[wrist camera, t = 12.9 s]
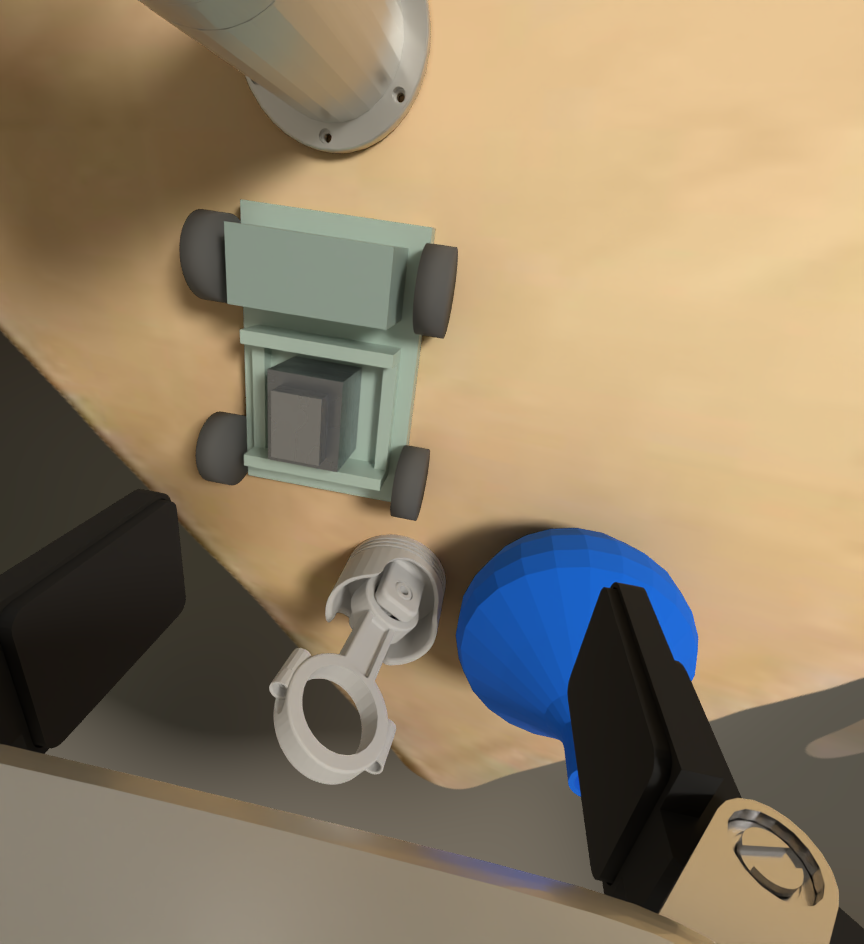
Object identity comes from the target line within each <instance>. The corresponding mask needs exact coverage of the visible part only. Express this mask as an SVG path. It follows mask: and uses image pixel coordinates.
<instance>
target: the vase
mask: <svg viewBox="0 0 864 944" xmlns="http://www.w3.org/2000/svg"><path fill="white" fill-rule="evenodd" d="M614 582H618V583H624V584H629V585H634V586H639V587H643V588H644V589H645V590H646V592H647V595H648V597H649V600H650V602H651V604H652V607H653V609H654V612H655V614H656V616H657V619H658V621H659V624H660V626H661V629H662V631H663V633H664V636H665V638H666V641H667V643H668V645H669V648H670V650H671V653H672V655H673V657H674V660H676V661H679V662H680V663H681V664H683V666H684V668H685V669H686V671H687V673H688V675H689V678H690V680H691V681H692V679H693V677H694V675H695V668H696V660H697V652H698V634H697V630H696V626H695V622H694V618H693V614H692V611H691V609H690V608H689V606H688V604H687V602H686V601H685V599H684V597H683V595H682V593H681V592H680V590H679V589H678V587H677V586H676V584H675V583H674V581H673V580H672V578H671V577H670V576H669V574H668V573H667V571H665V570H664V569H663V568H662V567H660V566H659V565H658V564H657V563H656V562H654V561H653V560H652V559H651V558H649V557H648V556H647V555H646V554H644V553H643V552H641V551H639V550H637V549H635V548H633V547H631V546H630V545H628V544H626V543H624V542H622V541H619V540H617V539H615V538H613V537H610V536H608V535H606V534H604V533H601V532H595V531H590V530H585V529H580V528H560V529H548V530H544V531H540V532H536V533H533V534H529V535H526V536H524V537H522V538H520V539H518V540H516V541H514V542H512V543H511V544H509V545H507V546H505V547H504V548H503V549H502V550H501V551H500V552H499V553H497V554H496V555H495V556H494V557H493V558H492V559H491V560H490V561H489V562H488V563H487V564H486V565H485V566H484V567H483V568H482V569H481V570H480V571H479V572H478V573H477V574H476V575H475V577H474V579H473V580H472V582H471V584H470V585H469V587H468V589H467V591H466V592H465V594H464V596H463V600H462V605H461V610H460V614H459V619H458V625H457V631H456V641H457V648H458V656H459V660H460V663H461V666H462V668H463V671H464V673H465V675H466V677H467V679H468V682H469V684H470V686H471V688H472V690H473V692H474V693H475V694H476V695H477V696H478V697H479V698H480V700H481V701H482V702H483V703H484V704H485V705H486V706H487V707H488V709H490V710H491V711H493V712H494V713H495V714H497V715H498V716H500V717H501V718H503V719H504V720H505V721H507V722H508V723H510V724H512V725H515V726H517V727H519V728H522V729H524V730H526V731H529V732H531V733H533V734H537V735H542V736H546V737H551V738H555V739H558V740H560V741H561V742H562V743H563V745H564V750H565V758H566V766H567V775H568V784H569V786H570V789H571V790H572V791H573V792H574V793H575V794H577V795H578V796H580V797H581V792H580V785H579V778H578V771H577V763H576V756H575V749H574V741H573V734H572V727H571V719H570V712H569V705H568V696H567V690H568V682H569V678H570V675H571V673H572V670H573V667H574V664H575V661H576V659H577V656H578V653H579V650H580V647H581V644H582V642H583V639H584V636H585V633H586V630H587V628H588V625H589V622H590V619H591V616H592V614H593V611H594V608H595V605H596V602H597V599H598V597H599V594H600V591H601V589H602V588H603V587H607V588H610V587H611V585H612V584H613V583H614Z"/></svg>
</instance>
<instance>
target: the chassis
mask: <svg viewBox="0 0 864 944" xmlns="http://www.w3.org/2000/svg"><path fill="white" fill-rule="evenodd" d="M240 211H241V221H240V220H239V219H238V218H237V217H236V216H235V215H233V214H230V213H224V212H217V211H211V210H204V209H198V210H195V211H193V212H192V213H191V214H190V215H189V216H188V217H187V219H186V221H185V223H184V225H183V228H182V232H181V237H180V262H181V267H182V271H183V275H184V277H185V280H186V282H187V284H188V286H189V288H190V289H191V291H192V292H193V293H194V294H195V295H196V296H198V297H199V298H201V299H205V300H211V301H217V302H223V303H227V304H231V305H237V306H243V315H244V328H243V329H240V343H241V344H244V349H245V384H246V416H242V415H237V414H231V413H226V412H216V413H214V414H212V415H211V416H210V417H209V418H208V419H207V421H206V422H205V423H204V425H203V427H202V429H201V431H200V434H199V437H198V441H197V446H196V464H197V468H198V471H199V473H200V475H201V476H202V478H203V479H205V480H207V481H212V482H217V483H222V484H227V485H236V484H238V483H239V482H240V481H241V480H242V479H243V478H244V477H245V475H246V474H247V472H248V475H251V476H256V477H262V478H267V479H272V480H277V481H283V482H288V483H293V484H298V485H304V486H309V487H314V488H319V489H325V490H330V491H335V492H340V493H346V494H351V495H356V496H361V497H367V498H372V499H377V500H382V501H388V502H391V506H390V511H391V516H393V517H399V518H404V519H409V520H414V521H416V520H417V518H418V515H419V512H420V508H421V504H422V500H423V496H424V491H425V486H426V480H427V474H428V467H429V458H430V450H429V449H424V448H419V447H413V446H409V438H410V430H411V422H412V414H413V406H414V398H415V389H416V381H417V373H418V365H419V357H420V349H421V341H422V335H424V336H431V337H437V338H444V337H445V334H446V331H447V327H448V323H449V318H450V313H451V308H452V302H453V296H454V289H455V282H456V273H457V262H458V249H457V247H451V246H444V245H437V244H434V236H435V228H431V227H424V226H418V225H411V224H404V223H397V222H390V221H384V220H377V219H370V218H363V217H357V216H350V215H343V214H336V213H329V212H323V211H316V210H309V209H302V208H295V207H289V206H282V205H275V204H268V203H262V202H255V201H248V200H241V199H240ZM294 356H299V357H305V358H310V359H316V360H322V361H328V362H333V363H339V364H345V365H351V366H356V367H362V378H361V391H360V404H359V417H358V430H357V443H356V449H355V451H354V452H353V453H352V454H351V456H350V457H349V458H348V459H347V461H346V462H345V463H344V465H343V466H342V467H341V468H340V470H339V471H338V472H333V471H328V470H322V469H317V468H312V467H307V466H301V465H296V464H291V463H285V462H280V461H275V460H270V459H268V380H267V369H269V368H271V367H273V366H275V365H277V364H279V363H282V362H284V361H286V360H288V359H290V358H292V357H294Z"/></svg>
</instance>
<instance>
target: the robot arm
mask: <svg viewBox="0 0 864 944" xmlns="http://www.w3.org/2000/svg"><path fill="white" fill-rule="evenodd" d="M138 1H140V2H141V3H143V4H144V5H146V6H147V7H148V8H149V9H151V10H152V11H153V12H155V13H156V14H158V15H159V16H161V17H162V18H164V19H165V20H166V21H168V22H169V23H171V24H172V25H174V26H175V27H177V28H178V29H179V30H181V31H182V32H184V33H185V34H187V35H188V36H190V37H191V38H192V39H194V40H195V41H197V42H198V43H200V44H201V45H203V46H204V47H205V48H207V49H208V50H210V51H211V52H213V53H214V54H216V55H217V56H218V57H220V58H221V59H223V60H224V61H226V62H227V63H229V64H230V65H231V66H233V67H234V68H236V69H237V70H239V71H240V72H242V73H243V74H244V75H245V77H246V80H247V82H248V85H249V87H250V89H251V91H252V93H253V95H254V96H255V98H256V100H257V101H258V103H259V105H260V107H261V108H262V109H263V110H264V112H265V113H266V114H267V115H268V117H269V118H270V119H271V120H272V121H273V123H274V124H276V125H277V126H278V127H279V128H280V129H281V130H283V131H284V132H285V133H286V134H287V135H288V136H290V137H292V138H293V139H295V140H297V141H298V142H300V143H302V144H304V145H306V146H309V147H311V148H313V149H315V150H319V151H324V152H329V153H351V152H355V151H358V150H362V149H365V148H368V147H370V146H371V145H373V144H375V143H377V142H379V141H381V140H382V139H384V138H385V137H386V136H387V135H388V134H389V133H391V132H392V131H393V130H394V129H395V128H396V127H397V126H398V125H399V124H400V122H401V121H402V120H403V118H404V117H405V116H406V115H407V113H408V112H409V110H410V108H411V107H412V105H413V103H414V101H415V99H416V97H417V96H418V94H419V91H420V88H421V85H422V82H423V79H424V76H425V73H426V69H427V64H428V58H429V52H430V38H431V21H430V12H429V3H428V0H138ZM402 94H403V95H404V96H405V99H404V101H403V102H401V103H400V102H398V97H399V96H400V95H402ZM328 135H331V136H332V138H331V141H330V142H329V143H328V142H327V140H326V139H327V136H328ZM185 598H186V595H185V586H184V576H183V567H182V557H181V547H180V537H179V527H178V517H177V508H176V505H175V503H173V502H171V500H170V498H169V496H168V495H166V494H164V493H159V492H154V491H149V490H144V489H138V490H135V491H133V492H132V493H130V494H128V495H127V496H125V497H124V498H122V499H120V500H119V501H117V502H116V503H114V504H112V505H111V506H109V507H108V508H106V509H105V510H103V511H101V512H100V513H98V514H97V515H95V516H94V517H92V518H90V519H89V520H87V521H85V522H84V523H82V524H81V525H79V526H77V527H76V528H74V529H73V530H71V531H69V532H68V533H66V534H65V535H63V536H61V537H60V538H58V539H57V540H55V541H54V542H52V543H50V544H49V545H47V546H46V547H44V548H42V549H41V550H39V551H38V552H36V553H35V554H33V555H31V556H30V557H28V558H27V559H25V560H23V561H22V562H20V563H18V564H17V565H15V566H14V567H12V568H11V569H9V570H7V571H6V572H4V573H3V574H1V575H0V944H864V929H863V928H862V927H861V926H860V925H859V924H858V923H857V922H855V921H854V920H853V919H852V918H851V917H850V916H849V915H847V914H846V913H845V912H844V911H843V910H842V909H841V908H839V890H838V887H837V884H836V881H835V878H834V875H833V872H832V870H831V868H830V867H829V865H828V863H827V862H826V860H825V858H824V857H823V855H822V853H821V852H820V851H819V850H818V848H817V847H816V846H815V845H814V843H813V842H812V841H811V840H810V839H809V837H808V836H807V835H806V834H805V833H804V832H803V831H802V830H800V829H799V828H798V827H797V826H796V825H795V824H794V823H792V822H791V821H790V820H789V819H788V818H786V817H784V816H783V815H782V814H780V813H779V812H777V811H775V810H774V809H772V808H771V807H768V806H766V805H764V804H761V803H759V802H757V801H754V800H749V799H742V798H741V796H740V793H739V791H738V789H737V786H736V784H735V782H734V779H733V777H732V775H731V773H730V770H729V768H728V766H727V763H726V761H725V759H724V756H723V754H722V752H721V749H720V747H719V745H718V742H717V740H716V738H715V736H714V733H713V731H712V729H711V726H710V724H709V722H708V719H707V717H706V715H705V712H704V710H703V708H702V705H701V703H700V701H699V699H698V696H697V694H696V692H695V689H694V687H693V685H692V682H691V680H690V678H689V675H688V673H687V671H686V669H685V668H684V666H683V664H681V663H680V662H679V661H676V660H674V657H673V655H672V653H671V650H670V648H669V645H668V643H667V641H666V638H665V636H664V633H663V631H662V629H661V626H660V624H659V621H658V619H657V616H656V614H655V612H654V609H653V607H652V604H651V602H650V600H649V597H648V595H647V592H646V590H645V589H644V588H643V587H639V586H634V585H629V584H624V583H618V582H614V583H613V584H612V585H611V587H610V588H607V587H603V588H602V589H601V591H600V594H599V597H598V599H597V602H596V605H595V608H594V611H593V614H592V616H591V619H590V622H589V625H588V628H587V630H586V633H585V636H584V639H583V642H582V644H581V647H580V650H579V653H578V656H577V659H576V661H575V664H574V667H573V670H572V673H571V675H570V678H569V682H568V690H567V696H568V705H569V712H570V719H571V727H572V734H573V741H574V749H575V756H576V763H577V771H578V778H579V785H580V792H581V800H582V806H583V814H584V822H585V829H586V836H587V844H588V851H589V858H590V866H591V871H592V874H593V877H594V878H595V879H596V880H600V881H602V882H603V889H604V894H601V893H598V892H595V891H592V890H589V889H586V888H583V887H579V886H576V885H572V884H568V883H565V882H561V881H557V880H553V879H550V878H546V877H542V876H539V875H535V874H531V873H527V872H524V871H520V870H516V869H512V868H509V867H505V866H501V865H498V864H494V863H490V862H486V861H482V860H479V859H475V858H471V857H467V856H462V855H459V854H454V853H451V852H447V851H443V850H439V849H435V848H430V847H426V846H423V845H418V844H414V843H410V842H406V841H402V840H398V839H394V838H390V837H386V836H382V835H378V834H374V833H370V832H366V831H362V830H357V829H353V828H350V827H346V826H342V825H337V824H334V823H330V822H326V821H322V820H318V819H313V818H309V817H305V816H301V815H297V814H293V813H289V812H285V811H280V810H276V809H272V808H268V807H264V806H260V805H256V804H251V803H247V802H243V801H239V800H235V799H231V798H227V797H223V796H218V795H214V794H210V793H206V792H201V791H197V790H194V789H190V788H185V787H181V786H177V785H172V784H169V783H164V782H160V781H156V780H152V779H148V778H144V777H139V776H135V775H131V774H126V773H122V772H118V771H114V770H110V769H106V768H101V767H97V766H93V765H88V764H84V763H80V762H76V761H71V760H67V759H63V758H58V757H55V756H50V755H46V754H45V752H46V751H47V750H48V749H49V748H54V747H56V746H58V745H60V744H61V743H62V742H63V741H64V740H65V739H66V738H67V737H68V736H69V734H70V733H71V732H72V731H73V730H74V729H75V728H76V727H77V726H78V725H79V724H80V723H81V722H82V720H83V719H84V718H85V717H86V716H87V715H88V714H89V713H90V712H91V711H92V710H93V708H94V707H95V706H96V705H97V704H98V703H99V702H100V701H101V700H102V699H103V698H104V696H105V695H106V694H107V693H108V692H109V691H110V690H111V689H112V688H113V687H114V686H115V684H116V683H117V682H118V681H119V680H120V679H121V678H122V677H123V676H124V674H125V673H126V672H127V671H128V670H129V669H130V668H131V667H132V666H133V665H134V663H136V661H137V660H138V659H139V658H140V657H141V656H142V655H143V654H144V653H145V652H146V651H147V649H148V648H149V647H150V646H151V645H152V644H153V643H154V642H155V641H156V640H157V638H158V637H159V636H160V635H161V634H162V633H163V632H164V631H165V630H166V629H167V628H168V626H169V625H170V624H171V623H172V622H173V621H174V620H175V619H176V618H177V617H178V615H179V614H180V613H181V612H182V610H183V608H184V605H185V600H186V599H185Z"/></svg>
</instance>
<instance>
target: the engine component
mask: <svg viewBox="0 0 864 944" xmlns="http://www.w3.org/2000/svg"><path fill="white" fill-rule="evenodd" d="M445 586H446V576H445V573H444V569H443V567H442V565H441V563H440V561H439V559H438V558H437V557H436V555H435V554H434V553H433V552H432V551H431V550H430V549H429V548H427V547H426V546H425V545H423V544H422V543H420V542H418V541H416V540H414V539H411V538H409V537H405V536H400V535H392V534H390V535H379V536H376V537H372V538H370V539H368V540H366V541H364V542H362V543H361V544H360V545H359V546H357V547H356V549H355V550H354V551H353V553H352V554H351V556H350V558H349V560H348V562H347V563H346V565H345V567H344V569H343V571H342V573H341V575H340V577H339V579H338V581H337V583H336V584H335V586H334V588H333V590H332V592H331V594H330V596H329V598H328V600H327V604H326V612H325V616H326V620H327V622H331V621H332V620H333V619H334V617H335V615H336V613H343V614H345V615H346V616H348V617H349V624H350V627H351V628H352V629H353V630H352V632H351V634H350V636H349V637H348V639H347V641H346V643H345V645H344V646H343V648H342V650H341V652H340V654H333V653H323V654H318V655H314V656H311V654H310V653H309V652H308V651H307V650H305V649H302V648H296V649H295V650H294V651H293V652H292V653H291V655H290V656H289V658H288V659H287V661H286V662H285V664H284V665H283V667H282V668H281V670H280V671H279V673H278V674H277V675H276V677H275V678H274V680H273V681H272V683H271V684H270V688H269V689H270V692H271V693H272V695H273V696H274V697H276V701H275V705H274V726H275V731H276V735H277V738H278V741H279V744H280V747H281V748H282V750H283V752H284V754H285V755H286V757H287V759H288V760H289V761H290V763H291V764H292V765H293V766H294V767H295V768H296V769H297V770H298V771H299V772H301V773H302V774H303V775H305V776H306V777H308V778H310V779H312V780H314V781H317V782H320V783H323V784H340V783H344V782H347V781H349V780H351V779H353V778H354V777H355V776H357V775H358V774H359V773H361V772H362V771H364V770H366V771H367V772H369V773H371V774H379V773H381V772H382V771H383V767H384V764H385V761H386V758H387V755H388V753H389V750H390V747H391V744H392V741H393V738H394V735H395V732H396V725H395V724H394V722H393V721H391V720H389V719H388V715H387V709H386V706H385V702H384V699H383V696H382V694H381V692H380V690H379V688H378V686H377V684H376V682H375V679H376V677H377V674H378V672H379V670H380V667H381V665H382V662H383V663H385V664H387V665H401V664H406V663H409V662H412V661H415V660H416V659H418V658H420V657H421V656H423V655H424V654H425V653H427V651H428V650H429V649H430V648H431V646H432V645H433V643H434V641H435V638H436V635H437V630H438V625H439V619H440V614H441V609H442V603H443V597H444V592H445ZM316 678H323V679H327V680H330V681H333V682H335V683H337V684H338V685H340V686H341V687H342V688H343V689H345V690H346V691H347V692H348V694H349V695H350V696H351V697H352V699H353V701H354V702H355V704H356V706H357V709H358V711H359V714H360V718H361V723H362V736H361V742H360V746H359V748H358V750H357V752H356V754H353V755H340V754H337V753H334V752H332V751H330V750H328V749H327V748H325V747H324V746H323V745H321V744H320V743H319V742H318V741H317V739H316V738H315V737H314V736H313V734H312V733H311V731H310V729H309V728H308V725H307V723H306V720H305V717H304V714H303V708H302V695H303V690H304V686H305V684H306V682H307V680H310V679H316Z"/></svg>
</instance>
